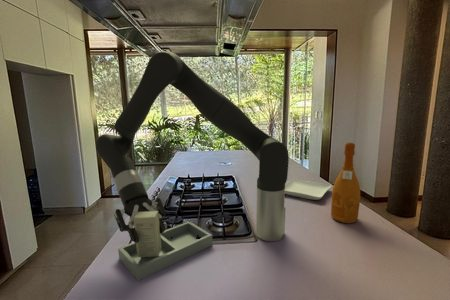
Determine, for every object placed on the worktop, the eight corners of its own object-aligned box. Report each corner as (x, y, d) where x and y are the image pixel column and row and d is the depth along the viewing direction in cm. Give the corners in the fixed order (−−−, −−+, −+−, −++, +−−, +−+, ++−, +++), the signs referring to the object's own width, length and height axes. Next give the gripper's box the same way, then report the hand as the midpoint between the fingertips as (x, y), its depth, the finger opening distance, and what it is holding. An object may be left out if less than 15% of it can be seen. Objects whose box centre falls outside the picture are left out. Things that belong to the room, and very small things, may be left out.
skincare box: (161, 248, 79) (159, 210, 76) (158, 256, 75) (156, 217, 72) (140, 248, 79) (137, 210, 76) (135, 257, 74) (132, 217, 72)
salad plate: (292, 183, 145) (292, 178, 145) (332, 191, 133) (332, 184, 133) (276, 195, 128) (276, 188, 128) (320, 204, 116) (321, 197, 116)
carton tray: (189, 230, 94) (189, 221, 93) (212, 244, 84) (212, 234, 84) (119, 258, 77) (118, 248, 77) (138, 280, 68) (137, 268, 67)
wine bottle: (324, 215, 105) (329, 141, 99) (343, 211, 108) (349, 140, 103) (344, 226, 96) (351, 145, 90) (363, 221, 99) (371, 143, 94)
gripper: (108, 187, 73) (128, 241, 67) (155, 176, 83) (176, 223, 77) (104, 199, 78) (122, 251, 72) (148, 188, 88) (168, 233, 82)
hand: (150, 236), depth 74 cm, fingers closed on skincare box, 7 cm apart
